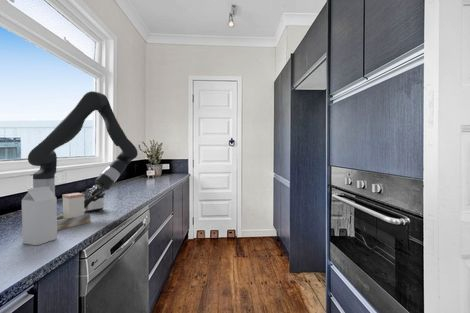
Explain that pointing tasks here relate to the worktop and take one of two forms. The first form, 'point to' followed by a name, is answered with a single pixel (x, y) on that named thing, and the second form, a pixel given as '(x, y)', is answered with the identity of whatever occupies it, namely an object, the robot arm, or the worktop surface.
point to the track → (72, 221)
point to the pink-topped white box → (73, 205)
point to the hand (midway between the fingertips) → (82, 207)
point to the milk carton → (39, 216)
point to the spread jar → (95, 205)
